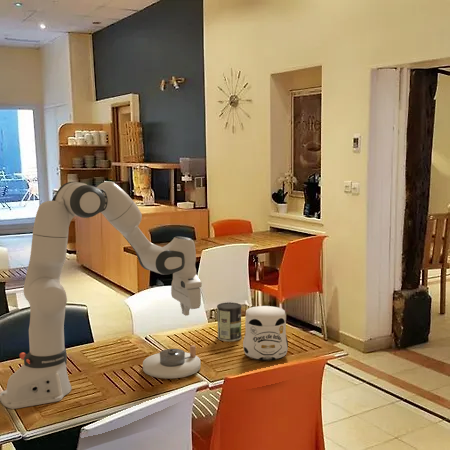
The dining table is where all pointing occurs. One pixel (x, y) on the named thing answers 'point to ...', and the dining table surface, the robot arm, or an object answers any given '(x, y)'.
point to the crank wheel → (157, 370)
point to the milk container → (265, 333)
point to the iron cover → (172, 357)
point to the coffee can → (229, 321)
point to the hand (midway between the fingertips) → (185, 314)
